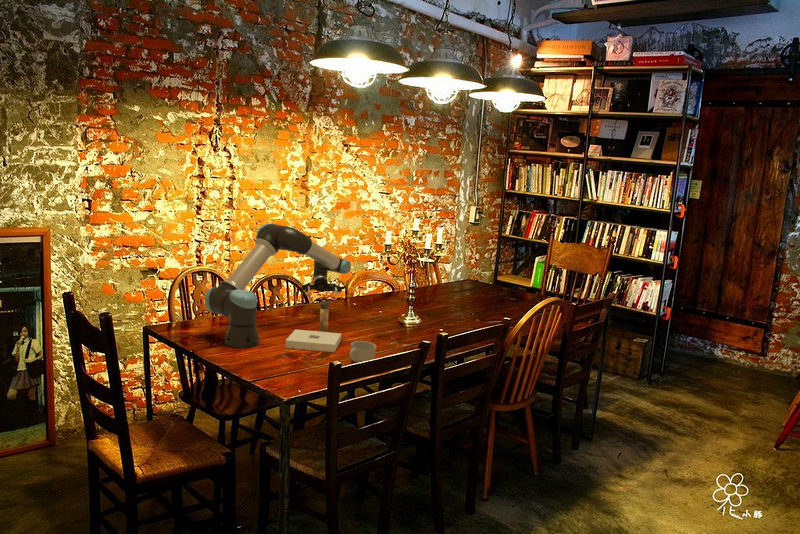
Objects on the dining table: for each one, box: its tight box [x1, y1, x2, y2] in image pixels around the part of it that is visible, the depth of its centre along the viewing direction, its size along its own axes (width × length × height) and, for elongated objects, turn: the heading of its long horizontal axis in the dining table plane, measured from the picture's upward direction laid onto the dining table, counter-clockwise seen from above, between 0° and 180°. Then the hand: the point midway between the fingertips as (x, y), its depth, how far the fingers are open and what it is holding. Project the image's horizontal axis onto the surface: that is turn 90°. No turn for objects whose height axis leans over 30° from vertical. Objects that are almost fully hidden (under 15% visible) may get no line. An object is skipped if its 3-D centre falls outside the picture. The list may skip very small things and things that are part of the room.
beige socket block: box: [284, 329, 342, 353], centre depth 287 cm, size 22×18×4 cm
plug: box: [318, 300, 330, 332], centre depth 302 cm, size 4×4×16 cm
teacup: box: [349, 340, 377, 363], centre depth 265 cm, size 14×11×8 cm
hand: (322, 292), depth 310 cm, fingers open, 13 cm apart
